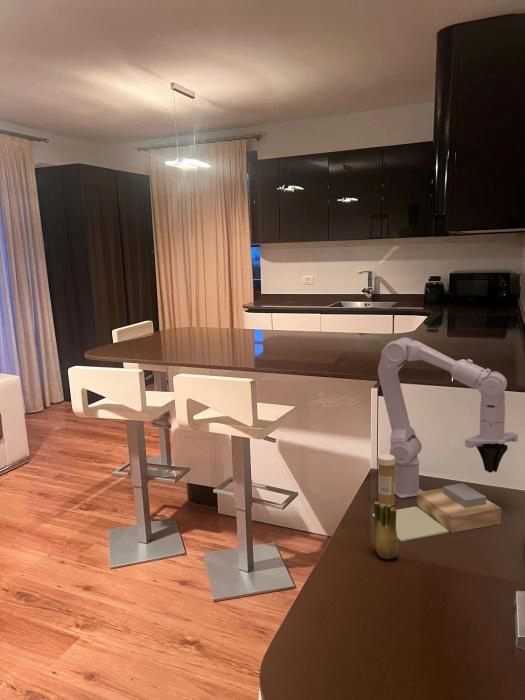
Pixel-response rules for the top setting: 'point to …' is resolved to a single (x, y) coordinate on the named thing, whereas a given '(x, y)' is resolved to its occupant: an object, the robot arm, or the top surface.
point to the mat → (415, 524)
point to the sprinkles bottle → (386, 479)
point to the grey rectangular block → (464, 495)
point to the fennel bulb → (385, 531)
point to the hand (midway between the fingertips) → (490, 470)
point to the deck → (457, 512)
